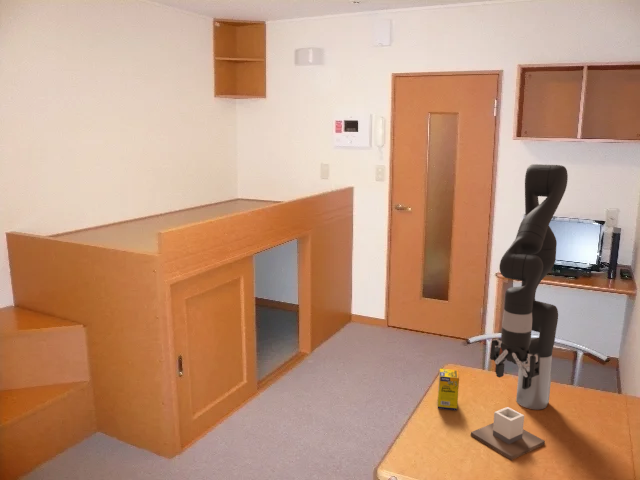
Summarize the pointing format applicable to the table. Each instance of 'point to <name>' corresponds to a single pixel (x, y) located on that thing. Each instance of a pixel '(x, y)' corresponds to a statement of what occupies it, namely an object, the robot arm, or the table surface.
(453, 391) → the supplement box
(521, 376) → the robot arm
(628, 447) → the table surface
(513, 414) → the sleeve
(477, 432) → the pin plate
